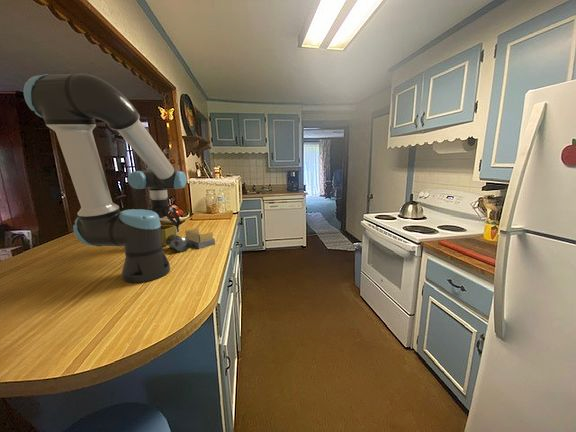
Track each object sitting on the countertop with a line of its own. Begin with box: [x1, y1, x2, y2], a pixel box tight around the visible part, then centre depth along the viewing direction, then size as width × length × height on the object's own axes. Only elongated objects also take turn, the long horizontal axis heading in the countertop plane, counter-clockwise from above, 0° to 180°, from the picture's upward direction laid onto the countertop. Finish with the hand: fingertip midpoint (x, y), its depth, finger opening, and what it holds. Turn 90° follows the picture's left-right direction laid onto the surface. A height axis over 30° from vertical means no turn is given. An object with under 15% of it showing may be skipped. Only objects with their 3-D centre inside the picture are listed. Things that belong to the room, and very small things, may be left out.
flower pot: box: [161, 224, 175, 247], centre depth 118 cm, size 9×9×9 cm
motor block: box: [166, 227, 216, 253], centre depth 116 cm, size 14×19×6 cm
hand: (163, 241), depth 119 cm, fingers closed on flower pot, 12 cm apart
